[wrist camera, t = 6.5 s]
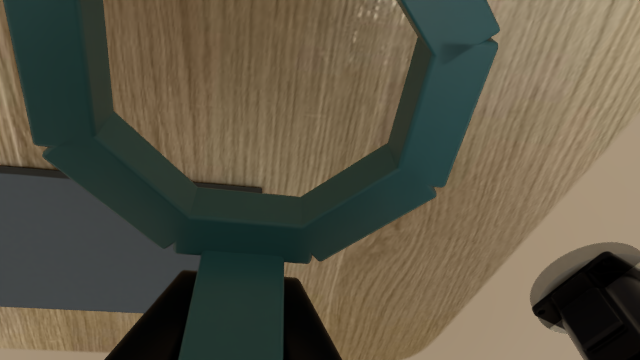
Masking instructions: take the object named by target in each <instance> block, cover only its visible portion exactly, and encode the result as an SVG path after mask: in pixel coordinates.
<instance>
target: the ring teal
mask: <svg viewBox="0 0 640 360" xmlns="http://www.w3.org/2000/svg"><path fill="white" fill-rule="evenodd" d="M3 2H4V7H5V12H6V17H7V21H8V26H9V31H10V36H11V40H12V45H13V50H14V54H15V59H16V64H17V69H18V73H19V78H20V83H21V88H22V92H23V97H24V102H25V106H26V111H27V116H28V121H29V125H30V130H31V135H32V140H33V143H34V144H35V145H37V146H45V147H47V148H46V149H45V150H44V152H43V154H42V156H43V158H44V159H45V160H47V161H48V162H49V163H51V164H52V165H53V166H55V167H56V168H57V169H58V170H60V171H61V172H62V173H64V174H65V175H66V176H68V177H69V178H70V179H71V180H73V181H74V182H75V183H77V184H78V185H79V186H81V187H82V188H83V189H84V190H86V191H87V192H88V193H90V194H91V195H92V196H94V197H95V198H96V199H97V200H99V201H100V202H101V203H103V204H104V205H105V206H107V207H108V208H109V209H110V210H112V211H113V212H114V213H116V214H117V215H118V216H120V217H121V218H122V219H123V220H125V221H126V222H127V223H129V224H130V225H131V226H133V227H134V228H135V229H136V230H138V231H139V232H140V233H142V234H143V235H144V236H146V237H147V238H148V239H149V240H151V241H152V242H153V243H155V244H156V245H157V246H159V247H160V248H161V249H166V248H167V247H169V246H170V245H172V244H173V250H174V252H175V253H176V254H184V255H198V256H201V258H200V263H199V267H198V272H197V276H196V281H195V285H194V290H193V294H192V299H191V303H190V308H189V312H188V317H187V321H186V326H185V330H184V335H183V339H182V344H181V348H180V353H179V357H178V360H283V353H284V262H290V263H303V264H308V263H310V261H311V258H312V255H313V256H314V257H315V258H316V259H317V260H318V261H323V260H325V259H327V258H328V257H330V256H332V255H334V254H336V253H337V252H339V251H341V250H343V249H344V248H346V247H348V246H350V245H352V244H353V243H355V242H357V241H359V240H360V239H362V238H364V237H366V236H368V235H369V234H371V233H373V232H375V231H376V230H378V229H380V228H382V227H384V226H385V225H387V224H389V223H391V222H392V221H394V220H396V219H398V218H400V217H401V216H403V215H405V214H407V213H408V212H410V211H412V210H414V209H416V208H417V207H419V206H421V205H423V204H424V203H426V202H428V201H430V200H432V199H433V198H435V197H436V191H435V189H434V187H444V186H445V185H446V182H447V180H448V177H449V174H450V172H451V169H452V167H453V164H454V161H455V159H456V156H457V154H458V151H459V148H460V146H461V143H462V141H463V138H464V135H465V133H466V130H467V128H468V125H469V122H470V120H471V117H472V115H473V112H474V109H475V107H476V104H477V102H478V99H479V96H480V94H481V91H482V89H483V86H484V83H485V81H486V78H487V76H488V73H489V70H490V68H491V65H492V63H493V60H494V57H495V55H496V52H497V50H498V43H497V42H496V41H495V40H493V39H492V38H491V37H492V36H494V35H495V34H497V33H498V32H499V31H500V27H499V25H498V23H497V21H496V19H495V17H494V15H493V13H492V11H491V9H490V6H489V4H488V2H487V0H397V2H398V4H399V5H400V7H401V9H402V10H403V12H404V14H405V15H406V17H407V19H408V21H409V22H410V24H411V26H412V27H413V29H414V31H415V32H416V34H417V36H418V38H417V42H416V45H415V49H414V52H413V56H412V59H411V63H410V67H409V70H408V74H407V77H406V81H405V84H404V88H403V91H402V95H401V98H400V102H399V105H398V109H397V113H396V116H395V120H394V123H393V127H392V130H391V134H390V137H389V141H388V143H387V144H385V145H383V146H382V147H380V148H379V149H377V150H375V151H374V152H372V153H370V154H369V155H367V156H366V157H364V158H362V159H361V160H359V161H358V162H356V163H354V164H353V165H351V166H350V167H348V168H346V169H345V170H343V171H342V172H340V173H338V174H337V175H335V176H334V177H332V178H330V179H329V180H327V181H326V182H324V183H322V184H321V185H319V186H318V187H316V188H314V189H313V190H311V191H309V192H308V193H306V194H305V195H303V196H301V197H296V196H285V195H275V194H265V193H254V192H244V191H234V190H223V189H213V188H203V187H197V186H196V185H195V184H194V183H193V182H192V181H191V180H190V179H188V178H187V177H186V176H185V175H184V174H183V173H182V172H181V171H180V170H178V169H177V168H176V167H175V166H174V165H173V164H172V163H171V162H170V161H169V160H167V159H166V158H165V157H164V156H163V155H162V154H161V153H160V152H159V151H157V150H156V149H155V148H154V147H153V146H152V145H151V144H150V143H149V142H148V141H146V140H145V139H144V138H143V137H142V136H141V135H140V134H139V133H138V132H136V131H135V130H134V129H133V128H132V127H131V126H130V125H129V124H128V123H127V122H125V121H124V120H123V119H122V118H121V117H120V116H119V115H118V114H117V113H115V112H114V111H113V100H112V90H111V79H110V69H109V58H108V48H107V38H106V27H105V17H104V6H103V0H3Z"/></svg>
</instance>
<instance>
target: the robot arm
mask: <svg viewBox="0 0 640 360" xmlns="http://www.w3.org/2000/svg"><path fill="white" fill-rule="evenodd" d="M197 272H198V271H195V270H183V271H181V272H180V273H179V274H178V275H177V276H176V277H175V279H174V280H173V281H172V282H171V283H170V284H169V286H168V287H167V288H166V289H165V290H164V291H163V292H162V294H161V295H160V296H159V297H158V298H157V299H156V301H155V302H154V303H153V304H152V305H151V306H150V308H149V309H148V310H147V311H146V312H145V313H144V314H143V316H142V317H141V318H140V319H139V320H138V321H137V323H136V324H135V325H134V326H133V327H132V328H131V329H130V331H129V332H128V333H127V334H126V335H125V336H124V338H123V339H122V340H121V341H120V342H119V343H118V344H117V346H116V347H115V348H114V349H113V350H112V351H111V353H110V354H109V355H108V356H107V357H106V358H105V360H178V357H179V353H180V348H181V344H182V339H183V335H184V330H185V326H186V321H187V317H188V312H189V308H190V303H191V299H192V294H193V290H194V285H195V281H196V276H197ZM532 311H533V313H534V315H535V316H537V317H539V318H541V319H543V320H545V321H547V322H549V323H552V324H554V325H556V326H558V327H560V328H562V329H564V330H566V331H567V333H568V335H569V336H570V338H571V340H572V341H573V343H574V344H575V346H576V348H577V349H578V351H579V353H580V354H581V356H582V358H583V359H584V360H640V269H638V268H637V267H635V266H633V265H632V264H630V263H628V262H627V261H625V260H623V259H622V258H620V257H618V256H617V255H615V254H613V253H612V252H609V251H605V252H602V253H601V254H599V255H598V256H596V257H595V258H594V259H593V260H591V261H590V262H589V263H587V264H586V265H585V266H584V267H582V268H581V269H580V270H578V271H577V272H576V273H575V274H573V275H572V276H571V277H569V278H568V279H567V280H566V281H564V282H563V283H562V284H560V285H559V286H558V287H557V288H555V289H554V290H553V291H551V292H550V293H549V294H548V295H546V296H545V297H544V298H542V299H541V300H540V301H539V302H537V303H536V304H535V305H534V306H533V307H532ZM283 360H342V359H341V357H340V355H339V353H338V351H337V349H336V347H335V346H334V344H333V342H332V340H331V338H330V336H329V334H328V333H327V331H326V329H325V327H324V325H323V323H322V321H321V320H320V318H319V316H318V314H317V312H316V310H315V308H314V307H313V305H312V303H311V301H310V299H309V297H308V295H307V294H306V292H305V290H304V288H303V286H302V284H301V282H300V281H299V279H297V278H292V277H284V353H283Z"/></svg>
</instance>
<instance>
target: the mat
mask: <svg viewBox="0 0 640 360" xmlns="http://www.w3.org/2000/svg"><path fill="white" fill-rule="evenodd" d="M193 183H194V182H193ZM194 184H195V185H196V186H197V187H203V188H213V189H223V190H234V191H244V192H254V193H262V188H252V187H240V186H228V185H217V184H205V183H194ZM200 258H201V256H198V255H184V254H176V253H175V252H174V250H173V244H172V245H170V246H169V247H167V248H166V249H161V248H160V247H159V246H157V245H156V244H155V243H153V242H152V241H151V240H149V239H148V238H147V237H146V236H144V235H143V234H142V233H140V232H139V231H138V230H136V229H135V228H134V227H133V226H131V225H130V224H129V223H127V222H126V221H125V220H123V219H122V218H121V217H120V216H118V215H117V214H116V213H114V212H113V211H112V210H110V209H109V208H108V207H107V206H105V205H104V204H103V203H101V202H100V201H99V200H97V199H96V198H95V197H94V196H92V195H91V194H90V193H88V192H87V191H86V190H84V189H83V188H82V187H81V186H79V185H78V184H77V183H75V182H74V181H73V180H71V179H70V178H69V177H68V176H66V175H65V174H64V173H62V172H61V171H54V170H42V169H31V168H19V167H8V166H0V306H1V307H22V308H43V309H64V310H86V311H107V312H128V313H145V312H146V311H147V310H148V309H149V308H150V306H151V305H152V304H153V303H154V302H155V301H156V299H157V298H158V297H159V296H160V295H161V294H162V292H163V291H164V290H165V289H166V288H167V287H168V286H169V284H170V283H171V282H172V281H173V280H174V279H175V277H176V276H177V275H178V274H179V273H180V272H181V271H183V270H195V271H198V267H199V263H200Z"/></svg>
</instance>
